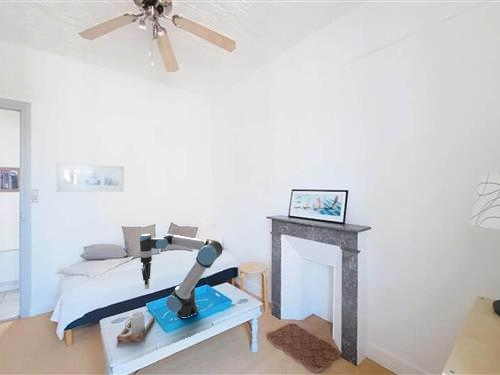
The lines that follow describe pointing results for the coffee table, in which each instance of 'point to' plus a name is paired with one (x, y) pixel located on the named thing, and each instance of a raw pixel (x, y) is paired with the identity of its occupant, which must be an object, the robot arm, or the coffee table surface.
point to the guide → (134, 337)
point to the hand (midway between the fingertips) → (147, 288)
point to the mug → (137, 323)
